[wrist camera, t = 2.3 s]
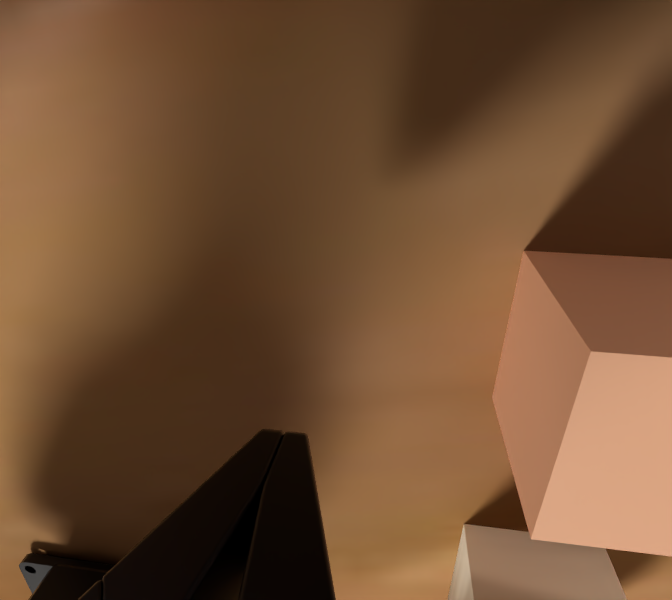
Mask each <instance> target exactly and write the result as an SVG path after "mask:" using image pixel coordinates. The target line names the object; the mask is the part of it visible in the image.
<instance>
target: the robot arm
mask: <svg viewBox="0 0 672 600" xmlns="http://www.w3.org/2000/svg"><path fill="white" fill-rule="evenodd" d="M19 567H20V570H21V572H22V574H23V576H24V578H25V580H26V582H27V584H28V586H29V588H30V590H31V592H32V595H31V597H30V598H29V600H336V598H335V592H334V587H333V581H332V575H331V569H330V563H329V557H328V551H327V546H326V540H325V534H324V528H323V522H322V516H321V510H320V504H319V499H318V493H317V487H316V481H315V475H314V469H313V463H312V457H311V452H310V446H309V440H308V436H307V434H305V433H298V432H286V433H285V434H284V432H283V431H279V430H270V429H263V430H261V431H260V432H258V433H257V434H256V435H255V436H254V437H253V438H252V439H251V440H250V441H249V442H248V443H246V444H245V445H244V446H243V447H242V448H241V449H240V450H239V451H238V452H237V453H236V454H235V455H234V456H232V457H231V458H230V459H229V460H228V461H227V462H226V463H225V464H224V465H223V466H222V467H221V468H220V469H218V470H217V471H216V472H215V473H214V474H213V475H212V476H211V477H210V478H209V479H208V480H207V481H205V482H204V483H203V484H202V485H201V486H200V487H199V488H198V489H197V490H196V491H195V492H194V493H193V494H191V495H190V496H189V497H188V498H187V499H186V500H185V501H184V502H183V503H182V504H181V505H180V506H178V507H177V508H176V509H175V510H174V511H173V512H172V513H171V514H170V515H169V516H168V517H167V518H166V519H164V520H163V521H162V522H161V523H160V524H159V525H158V526H157V527H156V528H155V529H154V530H153V531H151V532H150V533H149V534H148V535H147V536H146V537H145V538H144V539H143V540H142V541H141V542H140V543H139V544H137V545H136V546H135V547H134V548H133V549H132V550H131V551H130V552H129V553H128V554H127V555H126V556H124V557H123V558H122V559H121V560H120V561H119V562H118V563H117V564H116V565H108V564H101V563H95V562H88V561H81V560H74V559H68V558H61V557H54V556H47V555H40V554H34V553H30V554H27V555H26V557H25V558H24V559H23V560H22V562H21V563H20V565H19Z"/></svg>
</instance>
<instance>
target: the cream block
mask: <svg viewBox="0 0 672 600" xmlns="http://www.w3.org/2000/svg"><path fill="white" fill-rule="evenodd" d="M448 600H627V598H626V596H625V594H624V591H623V589H622V586H621V584H620V582H619V579H618V577H617V575H616V572H615V570H614V567H613V565H612V563H611V560H610V558H609V555H608V553H607V551H606V548H598V547H590V546H582V545H574V544H566V543H558V542H549V541H541V540H533V539H531V538H530V534H529V532H525V531H517V530H509V529H501V528H493V527H485V526H477V525H469V524H464V526H463V530H462V535H461V540H460V544H459V549H458V554H457V558H456V563H455V567H454V572H453V577H452V581H451V586H450V591H449V595H448Z"/></svg>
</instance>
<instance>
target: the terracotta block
mask: <svg viewBox="0 0 672 600" xmlns="http://www.w3.org/2000/svg"><path fill="white" fill-rule="evenodd" d="M492 399H493V403H494V406H495V410H496V413H497V417H498V421H499V424H500V428H501V432H502V435H503V439H504V443H505V446H506V450H507V454H508V457H509V461H510V465H511V468H512V472H513V476H514V479H515V483H516V487H517V490H518V494H519V498H520V501H521V505H522V509H523V512H524V516H525V520H526V523H527V527H528V531H529V534H530V538H531V539H533V540H541V541H549V542H558V543H566V544H574V545H582V546H590V547H598V548H606V549H615V550H623V551H631V552H639V553H647V554H655V555H664V556H672V259H667V258H649V257H631V256H612V255H594V254H576V253H558V252H540V251H523V256H522V260H521V265H520V270H519V274H518V279H517V284H516V288H515V293H514V298H513V302H512V307H511V312H510V316H509V321H508V326H507V330H506V335H505V340H504V345H503V349H502V354H501V359H500V363H499V368H498V373H497V377H496V382H495V387H494V391H493V396H492Z"/></svg>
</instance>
